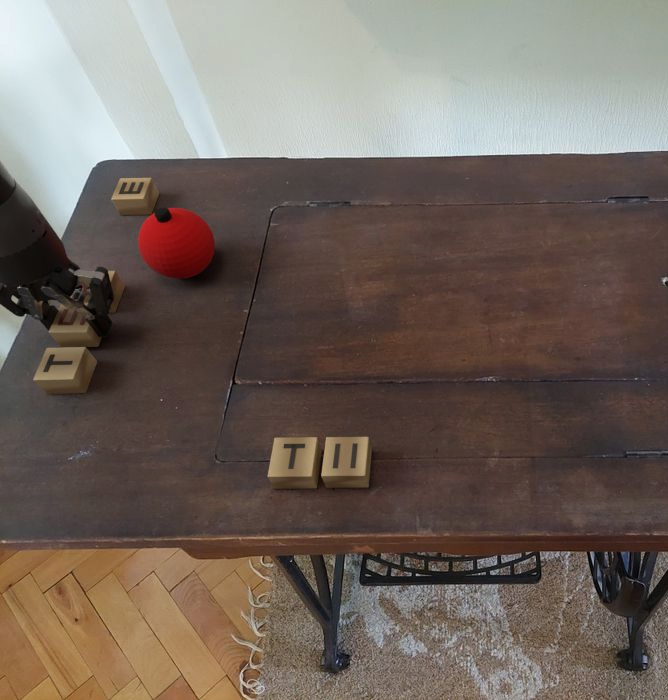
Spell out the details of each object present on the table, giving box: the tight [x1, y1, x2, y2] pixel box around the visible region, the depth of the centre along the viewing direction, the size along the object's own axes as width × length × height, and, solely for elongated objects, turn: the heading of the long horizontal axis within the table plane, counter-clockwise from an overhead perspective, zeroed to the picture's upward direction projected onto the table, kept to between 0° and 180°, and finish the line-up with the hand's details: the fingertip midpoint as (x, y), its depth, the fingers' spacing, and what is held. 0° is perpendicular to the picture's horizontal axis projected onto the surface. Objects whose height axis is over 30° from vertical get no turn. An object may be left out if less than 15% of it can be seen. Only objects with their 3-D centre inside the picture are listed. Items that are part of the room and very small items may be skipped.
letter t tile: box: [32, 347, 98, 395], centre depth 75 cm, size 4×4×3 cm
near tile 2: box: [267, 436, 323, 490], centre depth 68 cm, size 4×4×3 cm
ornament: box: [137, 207, 216, 280], centre depth 83 cm, size 9×9×10 cm
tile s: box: [48, 303, 110, 348], centre depth 78 cm, size 4×4×3 cm
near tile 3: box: [321, 436, 373, 489], centre depth 69 cm, size 4×4×3 cm
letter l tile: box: [71, 270, 126, 314], centre depth 82 cm, size 4×4×3 cm
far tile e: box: [110, 177, 160, 216], centre depth 93 cm, size 4×4×3 cm
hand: (84, 331), depth 79 cm, fingers closed on tile s, 4 cm apart
